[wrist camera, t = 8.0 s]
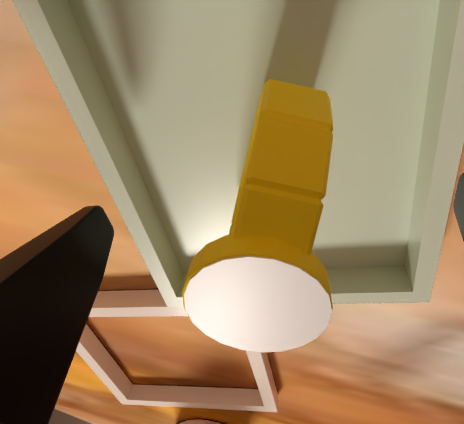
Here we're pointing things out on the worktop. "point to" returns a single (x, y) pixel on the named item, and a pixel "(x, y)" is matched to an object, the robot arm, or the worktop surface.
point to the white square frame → (170, 396)
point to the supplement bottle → (199, 422)
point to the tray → (243, 116)
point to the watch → (271, 233)
